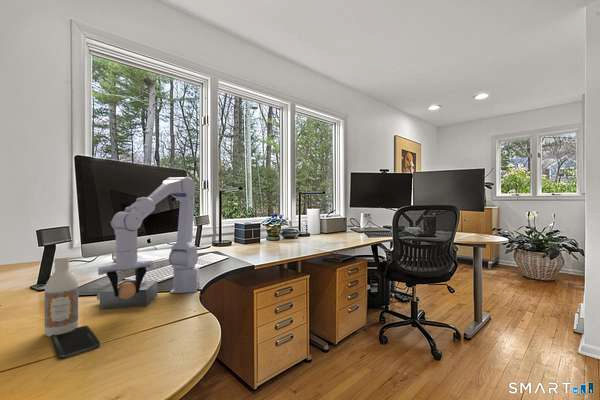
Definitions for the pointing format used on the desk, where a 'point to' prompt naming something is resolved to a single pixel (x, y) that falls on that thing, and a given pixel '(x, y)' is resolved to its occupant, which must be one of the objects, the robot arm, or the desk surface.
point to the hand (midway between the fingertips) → (126, 293)
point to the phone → (74, 342)
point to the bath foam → (61, 299)
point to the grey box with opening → (137, 300)
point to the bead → (126, 290)
